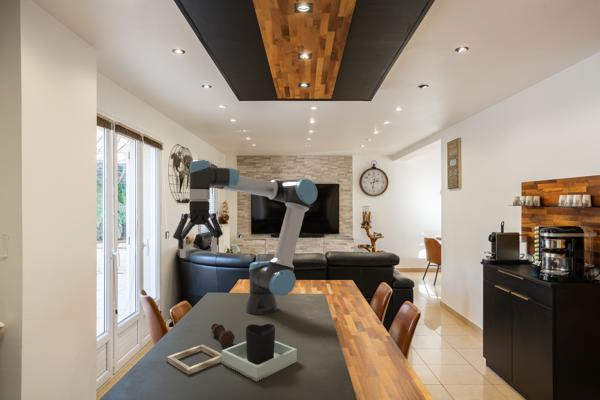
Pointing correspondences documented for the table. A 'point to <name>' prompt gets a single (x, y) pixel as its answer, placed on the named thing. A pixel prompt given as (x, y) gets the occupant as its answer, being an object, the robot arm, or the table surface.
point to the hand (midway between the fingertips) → (199, 255)
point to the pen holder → (260, 343)
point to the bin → (238, 361)
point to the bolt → (223, 334)
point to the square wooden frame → (189, 370)
